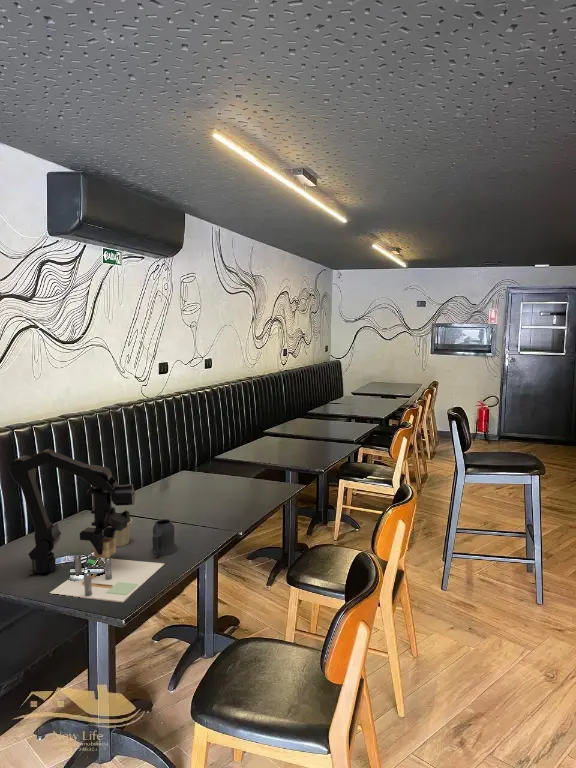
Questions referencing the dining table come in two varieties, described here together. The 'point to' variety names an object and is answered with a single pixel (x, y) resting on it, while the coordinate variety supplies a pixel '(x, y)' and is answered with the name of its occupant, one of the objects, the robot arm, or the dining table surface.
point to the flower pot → (123, 535)
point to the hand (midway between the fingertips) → (104, 551)
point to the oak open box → (107, 548)
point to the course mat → (113, 581)
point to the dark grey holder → (163, 538)
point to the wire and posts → (88, 576)
